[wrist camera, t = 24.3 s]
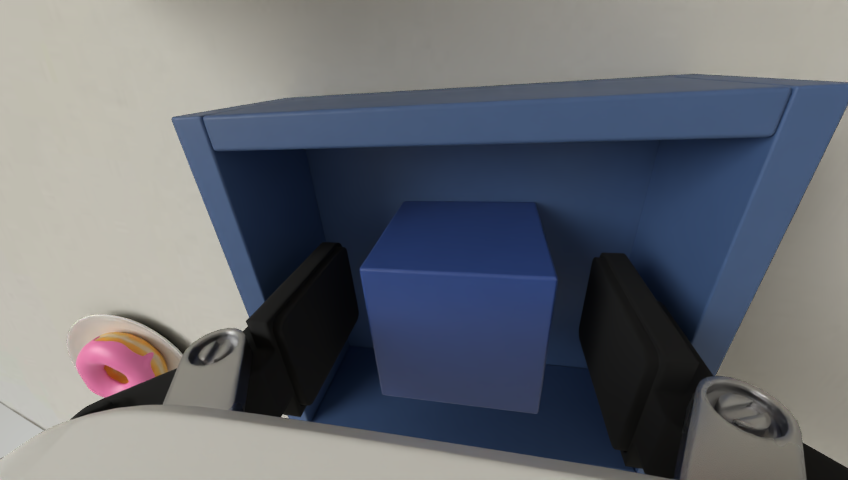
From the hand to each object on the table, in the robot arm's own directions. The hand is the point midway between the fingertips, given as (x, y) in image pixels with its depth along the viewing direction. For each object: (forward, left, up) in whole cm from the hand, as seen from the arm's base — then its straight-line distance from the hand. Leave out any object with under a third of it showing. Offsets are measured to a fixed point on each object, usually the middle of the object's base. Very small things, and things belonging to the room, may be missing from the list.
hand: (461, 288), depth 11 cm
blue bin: (0, 0, -3) cm, 3 cm away
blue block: (0, 0, -2) cm, 2 cm away
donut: (+21, +10, -3) cm, 24 cm away
